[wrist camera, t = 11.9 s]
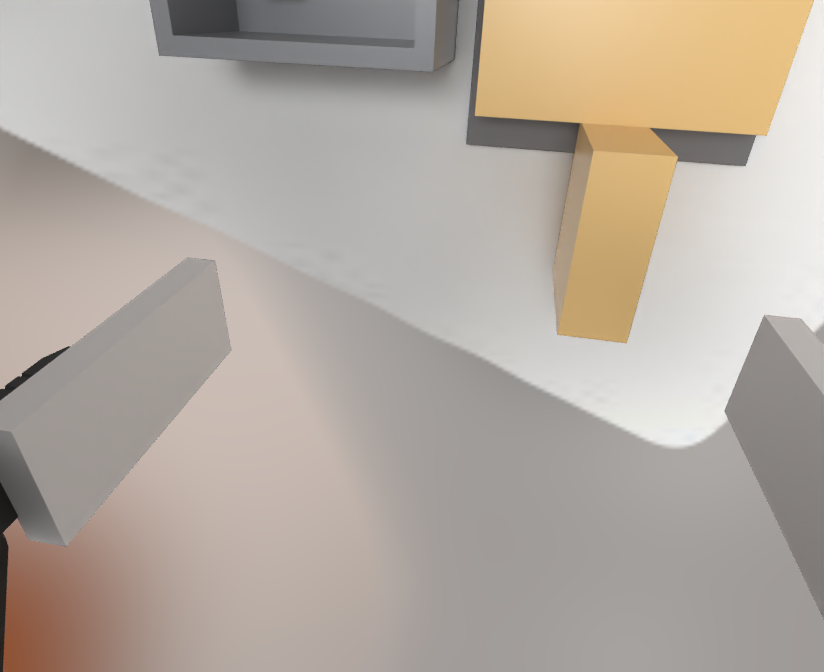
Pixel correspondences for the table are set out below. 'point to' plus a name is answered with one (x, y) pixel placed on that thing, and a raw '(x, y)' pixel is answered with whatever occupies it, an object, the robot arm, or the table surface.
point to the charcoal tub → (311, 31)
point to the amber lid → (629, 117)
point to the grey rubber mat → (565, 133)
